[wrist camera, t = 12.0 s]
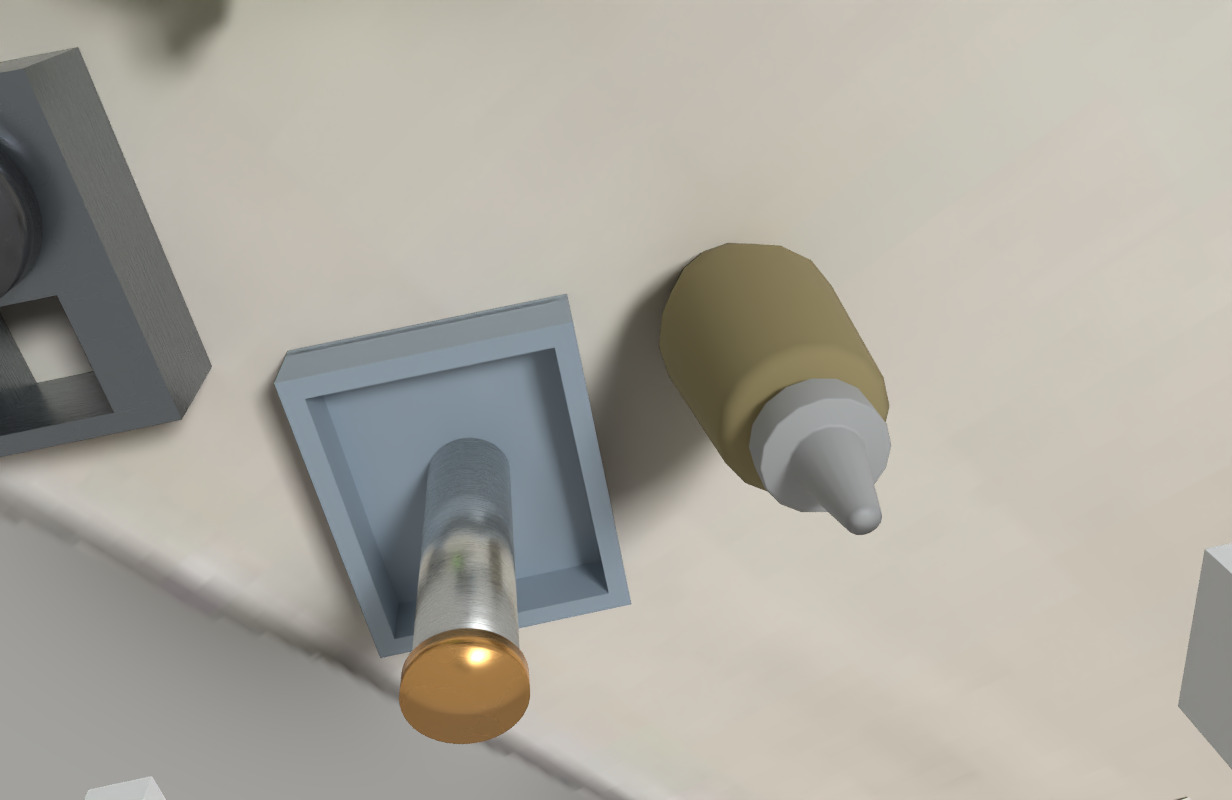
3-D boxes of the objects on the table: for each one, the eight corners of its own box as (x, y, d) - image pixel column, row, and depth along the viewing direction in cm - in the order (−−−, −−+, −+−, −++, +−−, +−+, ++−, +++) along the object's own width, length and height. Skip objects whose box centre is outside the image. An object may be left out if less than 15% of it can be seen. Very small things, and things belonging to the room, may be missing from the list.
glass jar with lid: (410, 443, 46) (383, 664, 33) (505, 423, 46) (515, 635, 33) (435, 519, 48) (418, 755, 35) (525, 500, 48) (541, 728, 35)
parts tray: (287, 351, 44) (274, 383, 41) (566, 293, 44) (573, 322, 41) (386, 614, 51) (380, 657, 48) (622, 564, 52) (631, 604, 49)
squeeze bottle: (693, 405, 48) (799, 658, 32) (614, 275, 44) (689, 489, 28) (839, 324, 47) (1022, 546, 31) (770, 184, 43) (939, 355, 27)
